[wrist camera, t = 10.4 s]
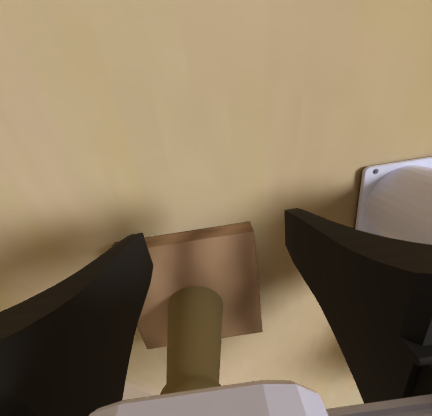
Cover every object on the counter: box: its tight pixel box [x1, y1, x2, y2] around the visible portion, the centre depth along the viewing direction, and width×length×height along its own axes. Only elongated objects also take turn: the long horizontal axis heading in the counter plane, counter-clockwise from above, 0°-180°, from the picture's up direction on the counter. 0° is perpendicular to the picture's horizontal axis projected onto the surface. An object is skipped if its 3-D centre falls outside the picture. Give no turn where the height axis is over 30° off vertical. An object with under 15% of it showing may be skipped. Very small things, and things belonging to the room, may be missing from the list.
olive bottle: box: [160, 286, 223, 395], centre depth 19 cm, size 6×6×11 cm
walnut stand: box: [112, 222, 262, 349], centre depth 24 cm, size 14×14×2 cm
